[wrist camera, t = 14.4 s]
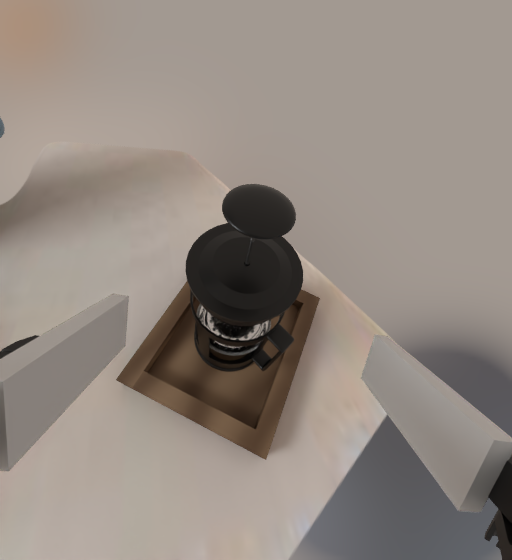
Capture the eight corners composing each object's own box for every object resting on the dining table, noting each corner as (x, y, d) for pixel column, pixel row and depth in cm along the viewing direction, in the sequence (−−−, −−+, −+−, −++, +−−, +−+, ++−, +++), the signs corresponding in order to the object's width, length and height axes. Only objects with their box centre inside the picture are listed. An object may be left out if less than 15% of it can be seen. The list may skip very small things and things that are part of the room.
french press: (176, 329, 32) (125, 180, 13) (229, 288, 37) (253, 131, 17) (237, 400, 29) (293, 348, 10) (287, 346, 34) (396, 236, 14)
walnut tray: (122, 383, 29) (115, 379, 27) (211, 257, 40) (211, 247, 38) (261, 457, 27) (265, 459, 25) (313, 305, 38) (319, 298, 36)
